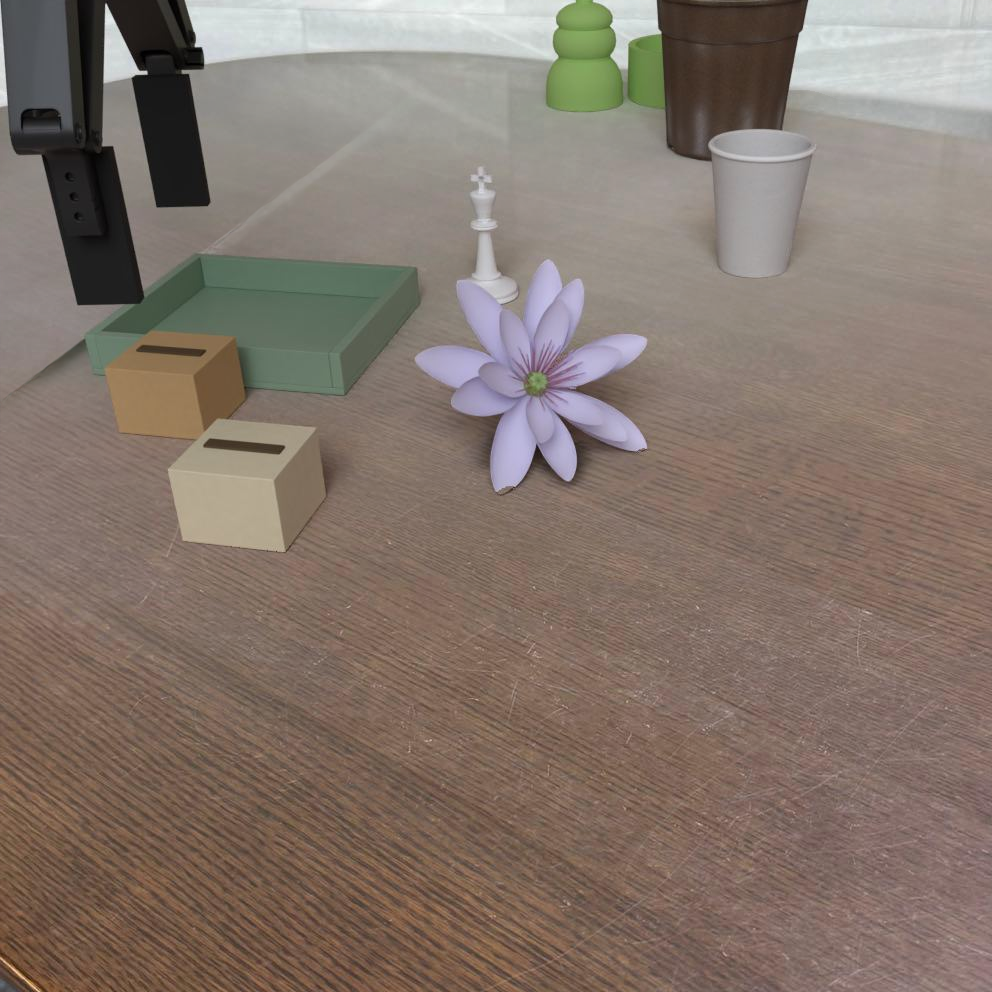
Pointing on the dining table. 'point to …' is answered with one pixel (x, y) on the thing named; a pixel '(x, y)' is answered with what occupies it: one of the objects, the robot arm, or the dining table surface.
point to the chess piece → (488, 243)
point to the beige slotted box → (248, 484)
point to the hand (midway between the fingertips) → (151, 249)
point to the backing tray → (273, 316)
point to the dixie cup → (758, 198)
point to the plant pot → (726, 67)
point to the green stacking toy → (600, 63)
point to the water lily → (534, 376)
